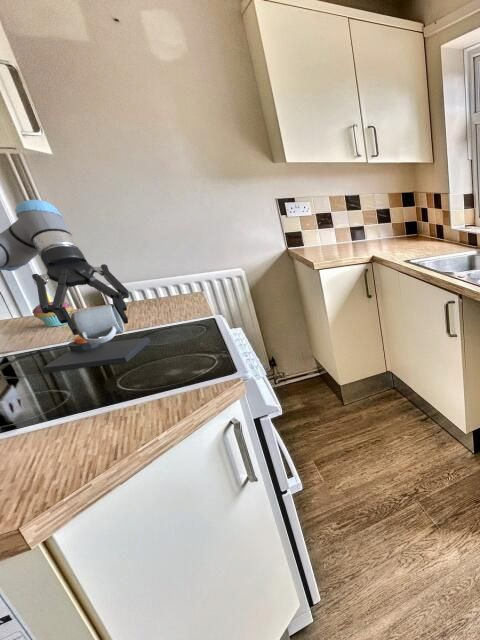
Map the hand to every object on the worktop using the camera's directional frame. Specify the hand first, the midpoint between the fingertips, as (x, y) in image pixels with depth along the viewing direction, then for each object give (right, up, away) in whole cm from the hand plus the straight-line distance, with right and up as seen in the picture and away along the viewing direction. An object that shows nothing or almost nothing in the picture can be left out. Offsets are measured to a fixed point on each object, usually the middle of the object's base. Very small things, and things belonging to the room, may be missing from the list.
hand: (101, 326), depth 103 cm
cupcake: (-41, +2, +28) cm, 50 cm away
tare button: (-11, -4, +6) cm, 13 cm away
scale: (-4, -8, +5) cm, 10 cm away
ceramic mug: (-2, -3, +3) cm, 5 cm away
